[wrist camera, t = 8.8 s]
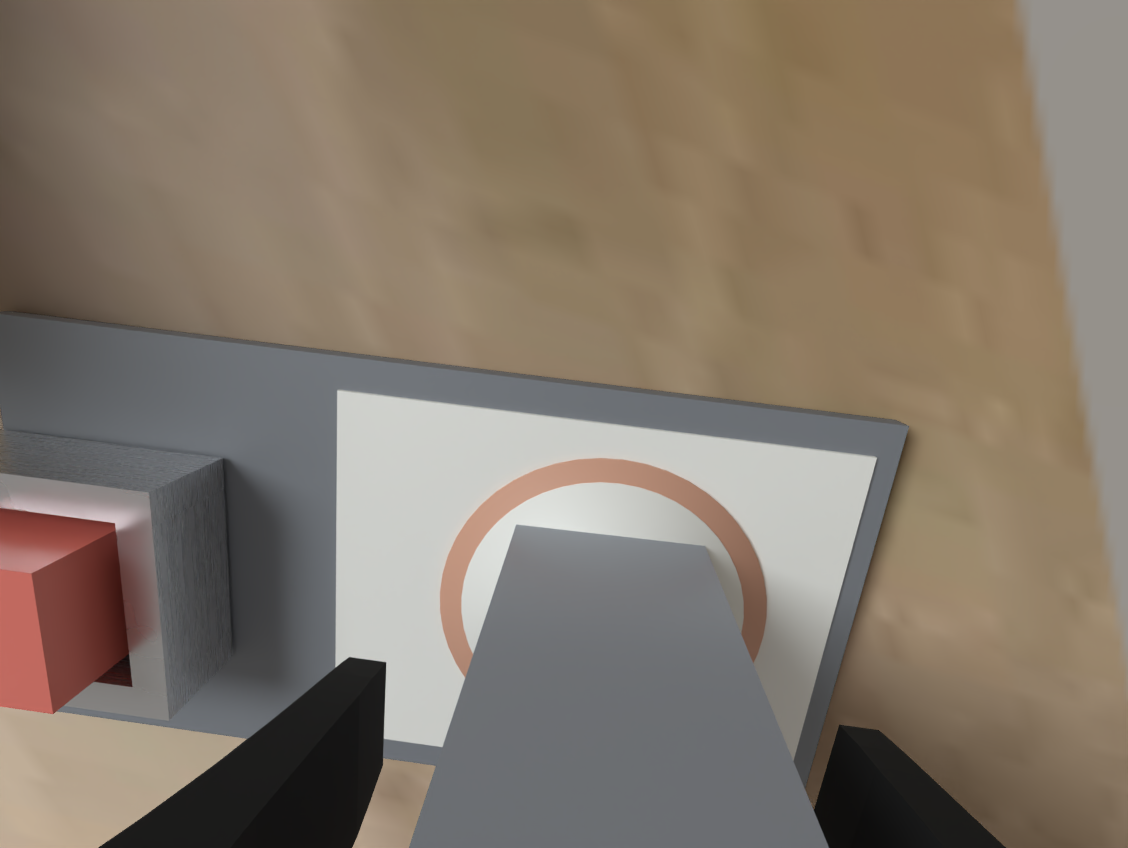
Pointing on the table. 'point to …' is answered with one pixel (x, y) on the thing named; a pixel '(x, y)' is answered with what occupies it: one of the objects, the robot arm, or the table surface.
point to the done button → (57, 608)
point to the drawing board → (460, 505)
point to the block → (612, 711)
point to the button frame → (141, 557)
